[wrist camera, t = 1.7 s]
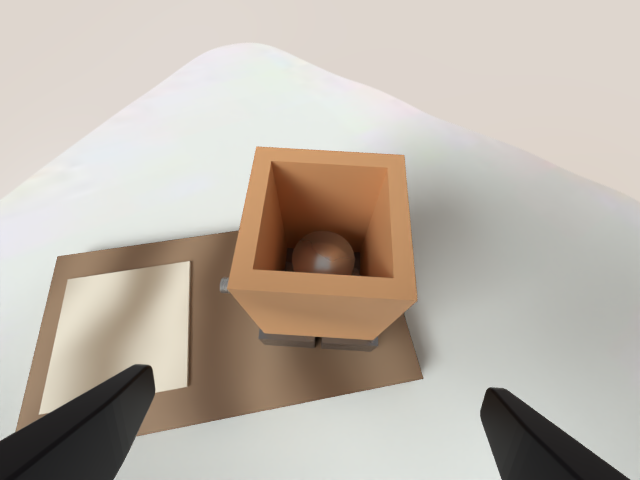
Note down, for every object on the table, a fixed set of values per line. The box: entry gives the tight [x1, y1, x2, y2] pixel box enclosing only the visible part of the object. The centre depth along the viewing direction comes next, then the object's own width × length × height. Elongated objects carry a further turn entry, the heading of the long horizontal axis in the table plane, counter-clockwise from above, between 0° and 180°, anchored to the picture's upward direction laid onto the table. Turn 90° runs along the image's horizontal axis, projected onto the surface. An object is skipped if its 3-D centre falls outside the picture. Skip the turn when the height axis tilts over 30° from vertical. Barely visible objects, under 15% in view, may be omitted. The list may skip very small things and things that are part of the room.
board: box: [16, 231, 423, 436], centre depth 20 cm, size 23×12×2 cm, turn 100°
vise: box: [220, 231, 378, 352], centre depth 17 cm, size 7×10×6 cm
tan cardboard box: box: [227, 147, 417, 340], centre depth 14 cm, size 6×6×8 cm
